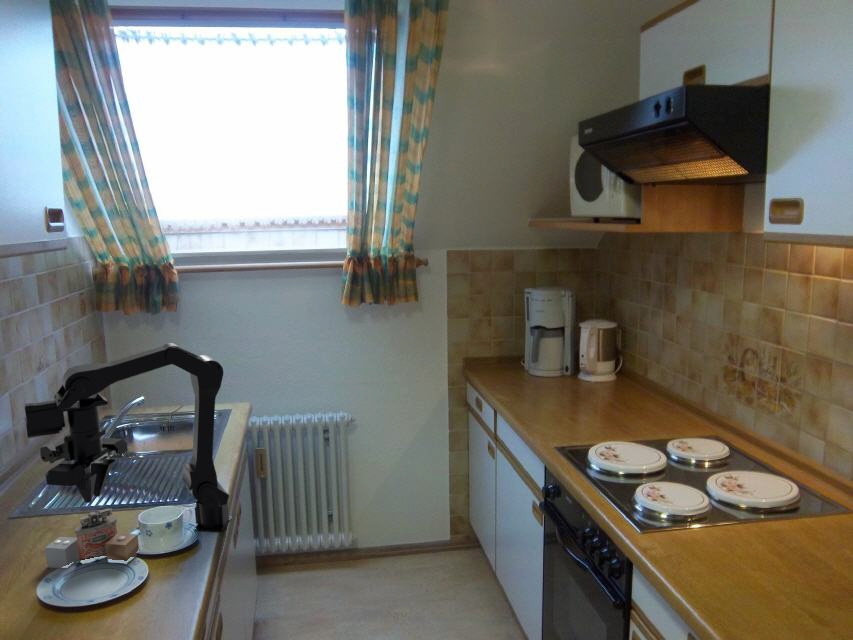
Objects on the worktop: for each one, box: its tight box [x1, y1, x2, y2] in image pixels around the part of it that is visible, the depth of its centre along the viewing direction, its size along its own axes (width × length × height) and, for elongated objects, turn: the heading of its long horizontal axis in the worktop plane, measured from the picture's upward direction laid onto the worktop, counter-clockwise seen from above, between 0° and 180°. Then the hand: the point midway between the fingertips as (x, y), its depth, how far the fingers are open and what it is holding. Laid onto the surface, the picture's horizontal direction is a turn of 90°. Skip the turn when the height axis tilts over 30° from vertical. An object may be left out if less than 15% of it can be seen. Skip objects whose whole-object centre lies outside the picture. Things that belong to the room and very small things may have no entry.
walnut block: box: [105, 532, 140, 561], centre depth 143 cm, size 4×4×5 cm
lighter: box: [74, 508, 118, 562], centre depth 143 cm, size 8×3×10 cm, turn 129°
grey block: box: [44, 536, 79, 569], centre depth 142 cm, size 4×4×5 cm
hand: (92, 499), depth 142 cm, fingers open, 3 cm apart
